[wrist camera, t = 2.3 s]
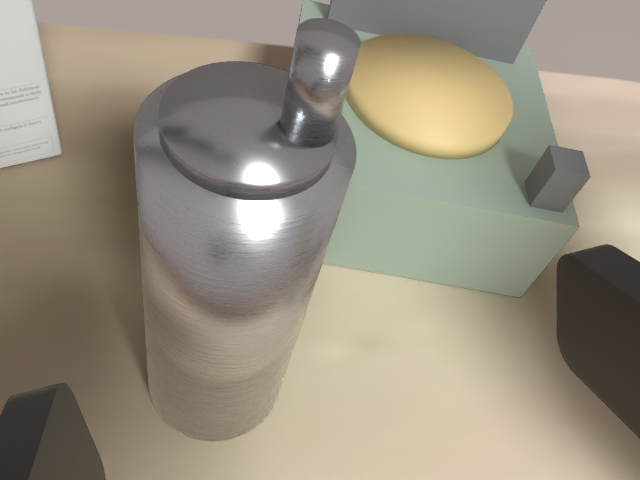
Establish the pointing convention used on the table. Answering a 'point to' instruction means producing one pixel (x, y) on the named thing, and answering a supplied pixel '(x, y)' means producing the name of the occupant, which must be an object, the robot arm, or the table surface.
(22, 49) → the supplement box
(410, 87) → the green and yellow block
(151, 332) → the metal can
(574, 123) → the table surface
